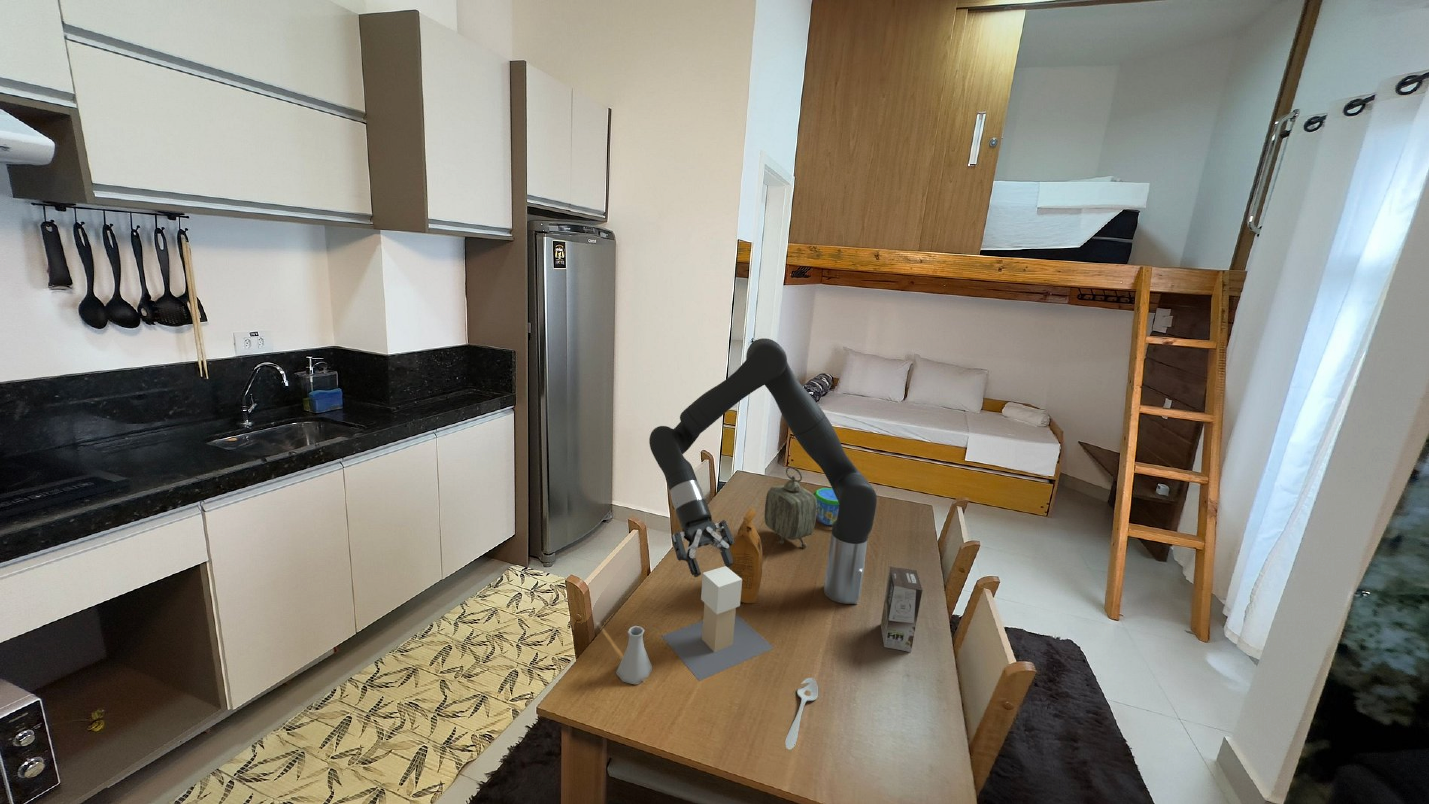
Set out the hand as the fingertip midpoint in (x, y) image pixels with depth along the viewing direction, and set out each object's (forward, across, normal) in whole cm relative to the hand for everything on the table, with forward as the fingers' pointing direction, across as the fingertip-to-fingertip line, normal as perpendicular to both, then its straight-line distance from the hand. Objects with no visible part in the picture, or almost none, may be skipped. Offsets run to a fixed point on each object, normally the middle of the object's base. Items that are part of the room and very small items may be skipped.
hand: (714, 571), depth 124 cm
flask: (+13, -20, +11) cm, 26 cm away
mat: (+14, 0, +10) cm, 17 cm away
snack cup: (-9, +69, +33) cm, 77 cm away
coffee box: (+28, +39, -4) cm, 48 cm away
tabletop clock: (-6, +46, +30) cm, 55 cm away
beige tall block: (+14, 0, +9) cm, 16 cm away
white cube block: (+7, 0, +2) cm, 7 cm away
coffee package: (+5, +17, +19) cm, 26 cm away
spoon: (+32, +2, -8) cm, 33 cm away
